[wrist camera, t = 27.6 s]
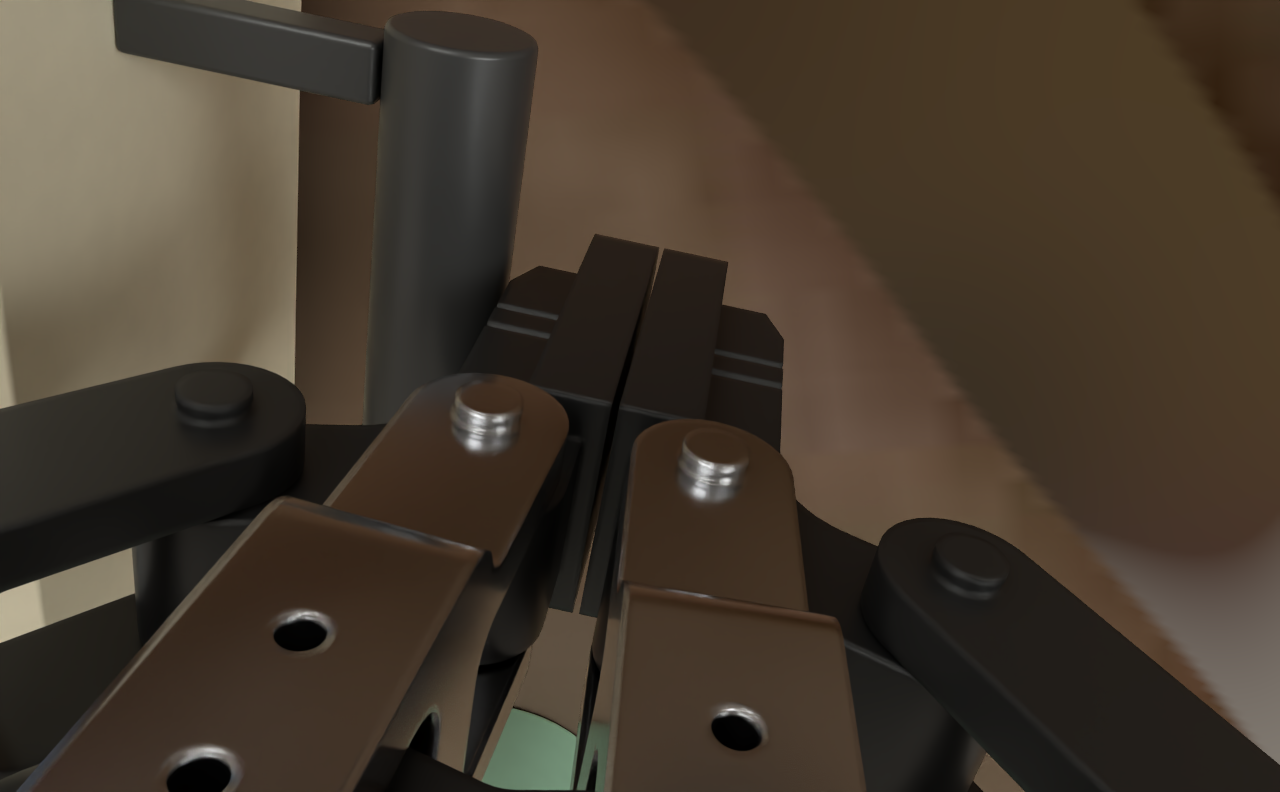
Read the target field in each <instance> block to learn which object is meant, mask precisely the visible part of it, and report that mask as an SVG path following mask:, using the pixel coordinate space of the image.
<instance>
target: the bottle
mask: <svg viewBox="0 0 1280 792" xmlns="http://www.w3.org/2000/svg"><path fill="white" fill-rule="evenodd" d="M576 738H577V737H576V736H575V735H573V734H572V733H571V732H569V731H568V730H566V729H564V728H563V727H561V726H559V725H557V724H556V723H554V722H551V721H549V720H547V719H545V718H543V717H540V716H537V715H535V714H532V713H529V712H526V711H522V710H518V709H514V708H512V710H511V712H510V715H509V717H508V720H507V722H506V724H505V727H504V729H503V732H502V734H501V736H500V739H499V741H498V743H497V746H496V748H495V751H494V753H493V755H492V758H491V760H490V763H489V765H488V767H487V770H486V772H485V775H484V777H483V779H482V782H484V783H486V784H489V785H492V786H494V787H499V788H503V789H513V790H570V783H571V776H572V768H573V761H574V753H575V746H576Z"/></svg>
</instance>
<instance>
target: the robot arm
mask: <svg viewBox="0 0 1280 792" xmlns="http://www.w3.org/2000/svg"><path fill="white" fill-rule="evenodd" d="M658 253H659V247H655V246H650V245H645V244H641V243H636V242H631V241H627V240H622V239H617V238H613V237H608V236H603V235H599V234H595V235H594V237H593V239H592V242H591V244H590V246H589V248H588V251H587V253H586V255H585V257H584V260H583V262H582V264H581V266H580V269H579V271H578V273H577V274H576V273H571V272H566V271H562V270H557V269H552V268H548V267H543V266H538V267H536V268H534V269H532V270H530V271H528V272H526V273H524V274H522V275H521V276H519V277H517V278H515V279H513V280H511V281H510V282H509V284H508V286H507V287H506V289H505V291H504V293H503V294H502V296H501V298H500V300H499V301H498V304H497V307H495V309H494V310H493V312H492V314H491V316H490V317H489V319H488V321H487V326H484V328H483V330H482V331H481V333H480V335H479V337H478V339H477V340H476V342H475V344H474V346H473V347H472V349H471V351H470V353H469V354H468V356H467V358H466V360H465V362H464V363H463V365H462V367H461V369H460V370H459V372H458V374H453V375H447V376H443V377H440V378H436V379H433V380H431V381H429V382H426V383H424V384H423V385H421V386H420V387H418V388H417V389H416V390H415V391H414V392H413V393H412V394H411V395H410V396H409V397H408V398H407V399H406V401H405V402H404V403H403V404H402V406H401V407H400V408H399V409H398V411H397V412H396V413H395V414H394V416H393V417H392V418H391V419H390V421H389V422H388V423H386V424H376V425H318V424H306V405H305V399H304V397H303V395H302V394H301V392H300V391H299V389H298V388H297V387H296V386H295V385H294V384H293V383H291V382H290V381H288V380H287V379H286V378H284V377H282V376H280V375H278V374H276V373H274V372H271V371H269V370H266V369H263V368H259V367H255V366H251V365H246V364H239V363H230V362H201V363H191V364H185V365H180V366H175V367H171V368H166V369H162V370H158V371H154V372H150V373H146V374H142V375H138V376H133V377H129V378H125V379H121V380H117V381H113V382H109V383H105V384H100V385H96V386H92V387H88V388H84V389H80V390H76V391H71V392H67V393H63V394H59V395H55V396H51V397H47V398H43V399H38V400H34V401H30V402H26V403H22V404H18V405H14V406H9V407H5V408H1V409H0V593H2V592H5V591H7V590H10V589H13V588H16V587H19V586H22V585H25V584H27V583H30V582H33V581H36V580H39V579H42V578H45V577H48V576H51V575H54V574H57V573H59V572H62V571H65V570H68V569H71V568H74V567H77V566H80V565H83V564H86V563H89V562H92V561H94V560H97V559H100V558H103V557H106V556H109V555H112V554H115V553H118V552H121V551H124V550H126V549H129V548H132V559H133V573H134V586H135V593H134V594H131V595H128V596H125V597H123V598H120V599H117V600H115V601H112V602H109V603H107V604H104V605H101V606H98V607H96V608H93V609H90V610H88V611H85V612H82V613H80V614H77V615H74V616H72V617H69V618H66V619H63V620H61V621H58V622H55V623H53V624H50V625H47V626H45V627H42V628H39V629H36V630H34V631H31V632H28V633H26V634H23V635H20V636H18V637H15V638H12V639H10V640H7V641H4V642H1V643H0V792H983V791H982V790H981V789H980V788H979V787H978V786H977V785H976V784H975V782H974V781H973V779H974V777H975V775H976V773H977V771H978V769H979V767H980V765H981V763H982V760H983V758H984V756H985V754H986V752H987V753H988V754H989V755H990V756H991V757H992V758H993V759H994V760H995V761H996V762H997V763H998V764H999V765H1000V766H1001V767H1002V768H1003V769H1004V770H1005V771H1006V772H1007V773H1008V774H1009V775H1010V776H1011V777H1012V778H1013V780H1014V781H1015V782H1016V783H1017V784H1018V785H1019V786H1020V787H1021V788H1022V789H1023V790H1024V791H1025V792H1280V765H1279V764H1278V763H1277V762H1275V761H1274V760H1273V759H1272V758H1271V757H1269V756H1268V755H1267V754H1266V753H1265V752H1263V751H1262V750H1261V749H1260V748H1259V747H1257V746H1256V745H1255V744H1254V743H1252V742H1251V741H1250V740H1249V739H1248V738H1246V737H1245V736H1244V735H1243V734H1242V733H1240V732H1239V731H1238V730H1237V729H1236V728H1234V727H1233V726H1232V725H1231V724H1230V723H1228V722H1227V721H1226V720H1225V719H1223V718H1222V717H1221V716H1220V715H1219V714H1217V713H1216V712H1215V711H1214V710H1213V709H1211V708H1210V707H1209V706H1208V705H1207V704H1205V703H1204V702H1203V701H1202V700H1200V699H1199V698H1198V697H1197V696H1196V695H1194V694H1193V693H1192V692H1191V691H1190V690H1188V689H1187V688H1186V687H1185V686H1184V685H1182V684H1181V683H1180V682H1179V681H1178V680H1176V679H1175V678H1174V677H1173V676H1171V675H1170V674H1169V673H1168V672H1167V671H1165V670H1164V669H1163V668H1162V667H1161V666H1159V665H1158V664H1157V663H1156V662H1155V661H1153V660H1152V659H1151V658H1150V657H1149V656H1147V655H1146V654H1145V653H1144V652H1142V651H1141V650H1140V649H1139V648H1138V647H1136V646H1135V645H1134V644H1133V643H1132V642H1130V641H1129V640H1128V639H1127V638H1126V637H1124V636H1123V635H1122V634H1121V633H1120V632H1118V631H1117V630H1116V629H1115V628H1113V627H1112V626H1111V625H1110V624H1109V623H1107V622H1106V621H1105V620H1104V619H1103V618H1101V617H1100V616H1099V615H1098V614H1097V613H1095V612H1094V611H1093V610H1092V609H1091V608H1089V607H1088V606H1087V605H1086V604H1084V603H1083V602H1082V601H1081V600H1080V599H1078V598H1077V597H1076V596H1075V595H1074V594H1072V593H1071V592H1070V591H1069V590H1068V589H1066V588H1065V587H1064V586H1063V585H1062V584H1060V583H1059V582H1058V581H1057V580H1055V579H1054V578H1053V577H1052V576H1051V575H1049V574H1048V573H1047V572H1046V571H1045V570H1043V569H1042V568H1041V567H1040V566H1039V565H1037V564H1036V563H1035V562H1034V561H1032V560H1031V559H1030V558H1029V557H1028V556H1026V555H1025V554H1024V553H1023V552H1021V551H1020V550H1019V549H1017V548H1016V547H1014V546H1013V545H1011V544H1010V543H1008V542H1006V541H1005V540H1003V539H1001V538H1000V537H998V536H996V535H993V534H991V533H989V532H987V531H985V530H982V529H980V528H977V527H975V526H972V525H968V524H965V523H961V522H958V521H952V520H947V519H939V518H917V519H911V520H906V521H903V522H900V523H898V524H896V525H894V526H892V527H891V528H889V529H888V530H887V531H886V532H885V534H884V535H883V536H882V538H881V540H880V543H879V545H878V546H875V545H873V544H871V543H868V542H866V541H864V540H861V539H859V538H857V537H855V536H852V535H850V534H848V533H845V532H843V531H841V530H839V529H837V528H835V527H833V526H831V525H829V524H828V523H826V522H824V521H823V520H821V519H819V518H818V517H816V516H815V515H814V514H812V513H811V512H810V511H808V510H807V509H806V508H805V507H804V506H803V505H801V504H800V503H799V502H798V501H797V500H796V497H795V488H794V480H793V475H792V471H791V469H790V467H789V465H788V463H787V461H786V460H785V459H784V458H783V457H782V455H781V454H780V442H781V411H782V389H781V388H782V381H783V369H782V366H783V351H784V339H783V338H782V336H781V335H780V333H779V332H778V331H777V329H776V328H775V326H774V325H773V324H772V322H771V321H770V319H769V318H768V317H767V315H766V314H763V313H758V312H754V311H749V310H744V309H740V308H735V307H730V306H726V305H722V300H723V293H724V286H725V280H726V273H727V266H728V262H726V261H721V260H716V259H712V258H707V257H702V256H698V255H693V254H688V253H684V252H679V251H674V250H670V249H664V251H663V255H662V258H661V262H660V265H659V269H658V272H657V276H656V279H655V283H654V286H653V290H652V285H653V280H654V275H655V270H656V264H657V259H658ZM651 290H652V293H651ZM650 295H651V297H650ZM596 524H597V525H596ZM595 528H596V530H595ZM594 531H595V535H594ZM593 535H594V540H593V545H592V550H591V556H590V561H589V566H588V571H587V576H586V581H585V587H584V592H583V597H582V602H581V607H580V613H579V614H582V615H587V616H591V617H596V618H597V621H596V626H595V631H594V636H593V642H592V646H591V651H590V656H589V661H588V666H587V671H586V676H585V680H584V685H583V692H582V700H581V708H580V715H579V723H578V730H577V738H576V746H575V753H574V761H573V768H572V776H571V783H570V790H513V789H503V788H499V787H494V786H492V785H489V784H486V783H484V782H482V779H483V777H484V775H485V772H486V770H487V767H488V765H489V763H490V760H491V758H492V755H493V753H494V751H495V748H496V746H497V743H498V741H499V739H500V736H501V734H502V732H503V729H504V727H505V724H506V722H507V720H508V717H509V715H510V712H511V710H512V708H513V705H514V703H515V700H516V698H517V696H518V693H519V691H520V688H521V686H522V684H523V681H524V679H525V676H526V674H527V671H528V667H529V663H530V657H531V651H532V645H533V643H534V642H535V640H536V639H537V638H538V636H539V634H540V632H541V630H542V628H543V624H544V621H545V618H546V614H547V611H548V608H553V609H558V610H562V611H567V612H571V613H572V612H573V609H574V605H575V601H576V598H577V594H578V590H579V586H580V583H581V579H582V575H583V572H584V568H585V564H586V561H587V557H588V553H589V550H590V546H591V542H592V539H593Z"/></svg>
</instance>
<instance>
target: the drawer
mask: <svg viewBox="0 0 1280 792" xmlns="http://www.w3.org/2000/svg"><path fill="white" fill-rule="evenodd" d="M537 56H538V46H537V42H536V40H535V39H534V38H533V37H532V36H530V35H529V34H527V33H526V32H524V31H522V30H520V29H518V28H516V27H513V26H511V25H508V24H505V23H502V22H499V21H496V20H492V19H488V18H483V17H479V16H474V15H468V14H461V13H453V12H441V11H415V12H408V13H403V14H398V15H395V16H393V17H391V18H389V19H388V21H387V23H386V25H385V27H384V29H380V28H375V27H371V26H366V25H361V24H356V23H352V22H347V21H342V20H337V19H333V18H328V17H323V16H319V15H314V14H309V13H304V12H301V0H0V409H1V408H5V407H9V406H14V405H18V404H22V403H26V402H30V401H34V400H38V399H43V398H47V397H51V396H55V395H59V394H63V393H67V392H71V391H76V390H80V389H84V388H88V387H92V386H96V385H100V384H105V383H109V382H113V381H117V380H121V379H125V378H129V377H133V376H138V375H142V374H146V373H150V372H154V371H158V370H162V369H166V368H171V367H175V366H180V365H185V364H191V363H201V362H230V363H239V364H246V365H251V366H255V367H259V368H263V369H266V370H269V371H271V372H274V373H276V374H278V375H280V376H282V377H284V378H286V379H287V380H288V381H290V382H291V383H293V384H295V329H296V273H297V218H298V162H299V107H300V91H305V92H309V93H314V94H319V95H323V96H328V97H333V98H338V99H342V100H347V101H352V102H356V103H361V104H366V105H371V104H374V103H376V102H377V101H378V100H379V99H380V116H379V134H378V152H377V170H376V188H375V206H374V224H373V242H372V260H371V278H370V297H369V315H368V333H367V351H366V369H365V387H364V405H363V423H362V425H376V424H386V423H388V422H389V421H390V419H391V418H392V417H393V416H394V414H395V413H396V412H397V411H398V409H399V408H400V407H401V406H402V404H403V403H404V402H405V401H406V399H407V398H408V397H409V396H410V395H411V394H412V393H413V392H414V391H415V390H416V389H417V388H418V387H420V386H421V385H423V384H424V383H426V382H429V381H431V380H433V379H436V378H440V377H443V376H447V375H453V374H458V372H459V370H460V369H461V367H462V365H463V363H464V362H465V360H466V358H467V356H468V354H469V353H470V351H471V349H472V347H473V346H474V344H475V342H476V340H477V339H478V337H479V335H480V333H481V331H482V330H483V328H484V326H487V321H488V319H489V317H490V316H491V314H492V312H493V310H494V309H495V307H497V304H498V301H499V300H500V298H501V296H502V294H503V293H504V291H505V289H506V287H507V286H508V284H509V279H510V271H511V263H512V255H513V247H514V240H515V232H516V224H517V216H518V208H519V200H520V192H521V184H522V176H523V168H524V160H525V152H526V144H527V136H528V128H529V120H530V112H531V104H532V96H533V88H534V80H535V72H536V64H537ZM134 593H135V586H134V573H133V559H132V548H129V549H126V550H124V551H121V552H118V553H115V554H112V555H109V556H106V557H103V558H100V559H97V560H94V561H92V562H89V563H86V564H83V565H80V566H77V567H74V568H71V569H68V570H65V571H62V572H59V573H57V574H54V575H51V576H48V577H45V578H42V579H39V580H36V581H33V582H30V583H27V584H25V585H22V586H19V587H16V588H13V589H10V590H7V591H5V592H2V593H0V643H1V642H4V641H7V640H10V639H12V638H15V637H18V636H20V635H23V634H26V633H28V632H31V631H34V630H36V629H39V628H42V627H45V626H47V625H50V624H53V623H55V622H58V621H61V620H63V619H66V618H69V617H72V616H74V615H77V614H80V613H82V612H85V611H88V610H90V609H93V608H96V607H98V606H101V605H104V604H107V603H109V602H112V601H115V600H117V599H120V598H123V597H125V596H128V595H131V594H134Z"/></svg>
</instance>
